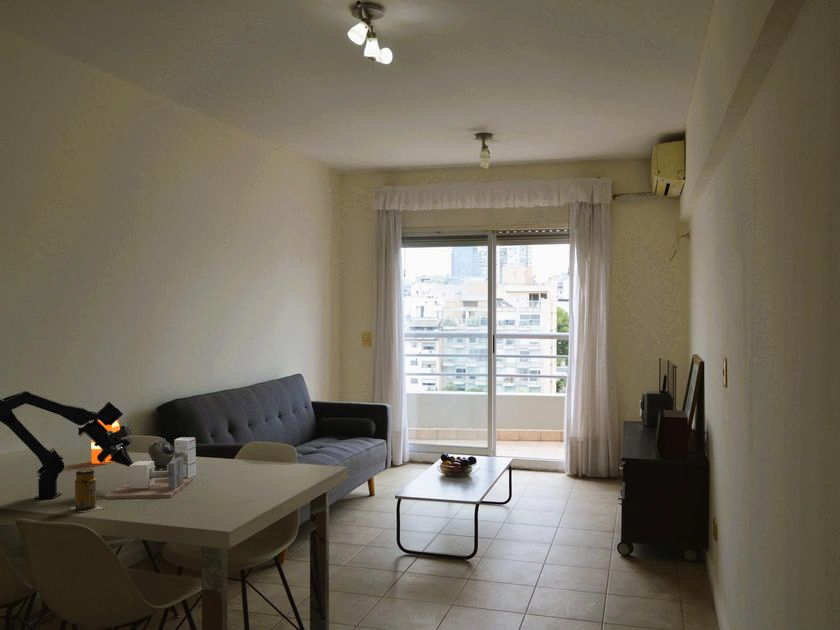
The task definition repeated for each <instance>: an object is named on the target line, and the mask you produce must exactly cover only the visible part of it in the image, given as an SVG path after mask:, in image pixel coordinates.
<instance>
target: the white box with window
mask: <svg viewBox="0 0 840 630" xmlns="http://www.w3.org/2000/svg"><path fill="white" fill-rule="evenodd" d="M154 469H155V465H154V461H152V460H146V461H145V460H139V461H136V462H133V464H131V465H130V467H129V481H130V489H136V488H149V487H150V486H152V485H153V484H155V481H154V479H155V478H150V472H151V471H155V470H154Z"/></svg>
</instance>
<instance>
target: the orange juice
mask: <svg viewBox="0 0 840 630" xmlns="http://www.w3.org/2000/svg"><path fill="white" fill-rule="evenodd" d="M93 421H94V420H93ZM93 421H92V422H93ZM98 422H99V423H100V424H101V425H103V426H104V427H105V428H106V429H107V430H108V431H113V432H116V431H118V430H120V427H121V425H120V424H119V419H118V420H117V421H116V422H114V423H113V424H112V425H111V426H110V425H107V426H105V425H104V424H103V423H102V422H101V421H100V420H98ZM90 439H91V438H90ZM90 441H91V447H90V448H91V464H101V463H100V462H99V461H98V460H97V455H98V454H99V453H100V452H101V451H102V449H101V448H100V447H99V446H95V445H94V444H95V442H94V441H93V440H92V439H91V440H90ZM110 456H111V455H109V456H108V457H107V458H106V459H105V461H104V462H105V463H104V462H103V463H102V464H107V463H106V462H112V461H109V460H110V459H111V458H112V457H110Z"/></svg>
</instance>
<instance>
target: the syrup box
mask: <svg viewBox="0 0 840 630" xmlns="http://www.w3.org/2000/svg"><path fill="white" fill-rule="evenodd" d="M173 446H174V450H175V455H174V460H175V459H176V458H183V479H191V478H193V477H195V476H197V459H196V456H197V453H196V450H197V448H196V437H187V436H186V437H185V436H183V437H182V436H181V437H178V438H176V439H174V445H173Z"/></svg>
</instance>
